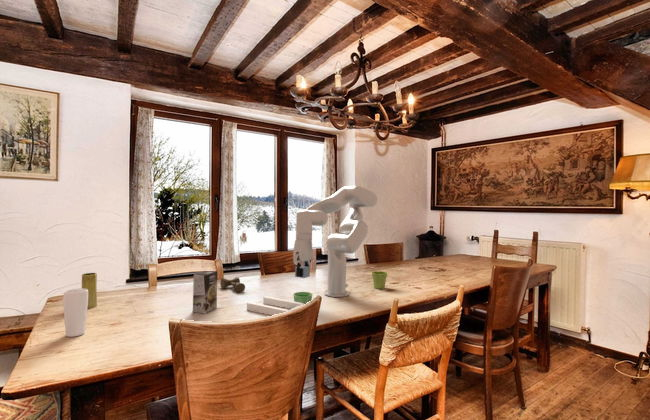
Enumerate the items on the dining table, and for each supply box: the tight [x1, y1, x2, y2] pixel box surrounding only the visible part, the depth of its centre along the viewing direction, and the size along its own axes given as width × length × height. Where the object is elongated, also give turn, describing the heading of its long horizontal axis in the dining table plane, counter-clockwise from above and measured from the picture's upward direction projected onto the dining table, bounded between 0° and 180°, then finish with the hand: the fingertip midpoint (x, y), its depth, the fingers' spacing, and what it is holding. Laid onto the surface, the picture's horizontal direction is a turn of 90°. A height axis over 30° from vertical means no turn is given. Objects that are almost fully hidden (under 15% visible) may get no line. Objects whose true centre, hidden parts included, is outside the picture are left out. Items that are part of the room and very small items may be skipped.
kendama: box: [219, 276, 246, 293], centre depth 178 cm, size 6×10×20 cm
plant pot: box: [370, 270, 389, 290], centre depth 186 cm, size 9×9×9 cm
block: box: [294, 265, 311, 279], centre depth 153 cm, size 5×5×4 cm
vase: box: [81, 272, 98, 309], centre depth 142 cm, size 6×6×14 cm
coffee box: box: [192, 270, 218, 314], centre depth 141 cm, size 9×6×16 cm
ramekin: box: [292, 291, 313, 304], centre depth 153 cm, size 9×9×4 cm
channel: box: [246, 295, 305, 316], centre depth 142 cm, size 13×22×3 cm, turn 61°
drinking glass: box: [62, 287, 88, 338], centre depth 112 cm, size 7×7×15 cm
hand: (302, 275), depth 153 cm, fingers closed on block, 5 cm apart
